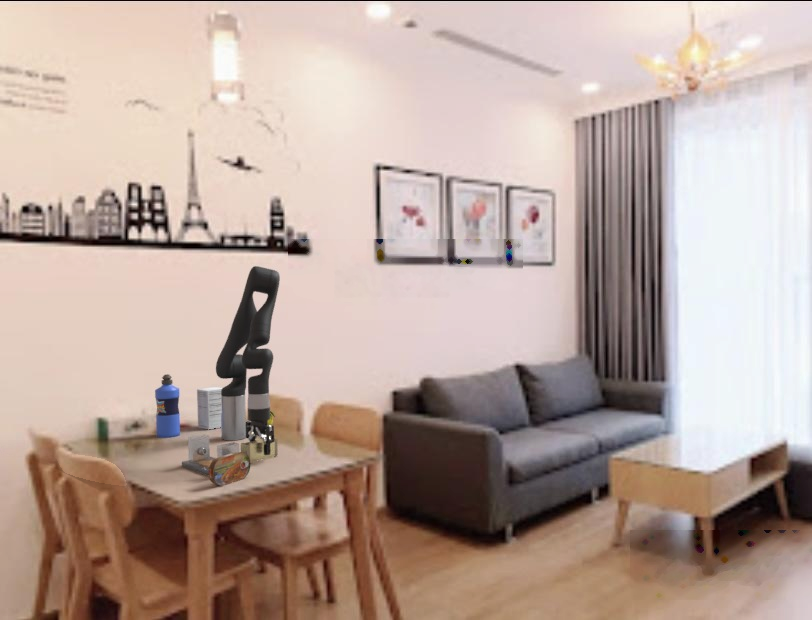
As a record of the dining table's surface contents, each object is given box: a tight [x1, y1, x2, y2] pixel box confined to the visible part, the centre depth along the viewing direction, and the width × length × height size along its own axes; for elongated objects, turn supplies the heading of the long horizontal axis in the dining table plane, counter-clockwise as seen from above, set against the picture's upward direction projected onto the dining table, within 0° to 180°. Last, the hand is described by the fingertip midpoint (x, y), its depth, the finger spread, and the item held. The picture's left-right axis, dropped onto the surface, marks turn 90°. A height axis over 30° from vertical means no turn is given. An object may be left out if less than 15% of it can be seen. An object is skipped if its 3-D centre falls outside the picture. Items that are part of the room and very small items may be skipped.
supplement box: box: [196, 386, 223, 431], centre depth 290 cm, size 10×9×17 cm
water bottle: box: [154, 374, 181, 439], centre depth 273 cm, size 9×9×25 cm
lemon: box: [267, 410, 276, 425], centre depth 282 cm, size 7×6×10 cm
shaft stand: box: [181, 434, 240, 476], centre depth 218 cm, size 25×10×10 cm, turn 45°
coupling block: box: [240, 437, 279, 463], centre depth 231 cm, size 12×4×6 cm, turn 135°
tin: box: [208, 451, 252, 487], centre depth 203 cm, size 15×3×8 cm, turn 148°
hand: (260, 453), depth 231 cm, fingers open, 8 cm apart
